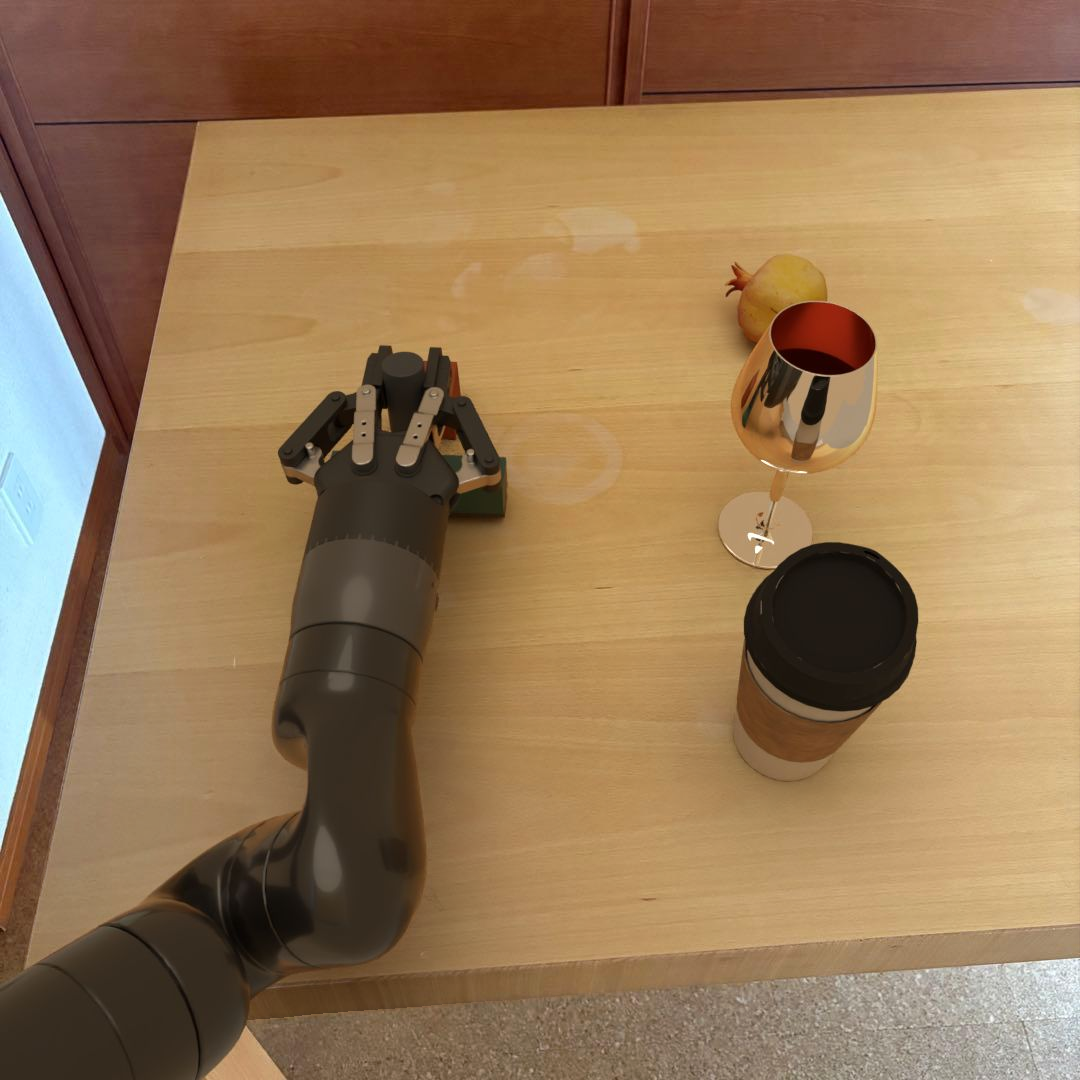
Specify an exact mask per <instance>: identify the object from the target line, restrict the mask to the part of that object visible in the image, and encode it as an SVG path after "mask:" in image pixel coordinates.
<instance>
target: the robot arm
mask: <svg viewBox="0 0 1080 1080" xmlns="http://www.w3.org/2000/svg"><path fill="white" fill-rule="evenodd" d="M393 353H394V351H393V347H392V345H386V344H385V345H384V344H383V345H382V344H380V345H379V347H378V350H377V352H371V353H370V354H369V356H368V357H367V358H366V364H365V368H364V373H363V377H362V382H361V386H359V387H358V388H357V390H356V391H355V392H353V393H350V394H346V393H345V392H343V391H341V390H334V391H331V392H330V393H328V394H327V395H325V397H324V398H323V400H321V402H320V403H319V404H318V405H317V406H316V407H315V408H314V409H313V410H312V412H311V413H310V414H309V415H308V416H307V417H306V418H305V419H304V420H303V421H302V423H300V425H299V426H298V427H297V428H296V429H295V430H294V431H293V433H292V434H291V435H290V436H289V437H288V438H287V439H286V440H285V441H284V442H283V444H282V445H280V447H279V448H278V450H277V455H278V458H279V463H280V465H281V468H282V471H283V474H284V475H285V478H286V480H287V482H288V483H289V484H291V485H296V486H298V485H300V484H303V483H306V484H308V485H311V486H312V487H314V488H315V490H316V496H317V499H316V501H315V505H314V510H313V515H312V519H311V523H310V527H309V532H308V535H307V539H306V543H305V548H304V551H303V556H302V561H301V564H300V569H299V573H298V578H297V582H296V586H295V591H294V594H293V599H292V605H291V606H292V607H291V612H290V628H289V629H290V630H289V636H288V637H289V638H288V642H287V648H286V652H285V655H284V659H283V665H282V669H281V673H280V678H279V682H278V687H277V690H276V694H275V698H274V702H273V708H272V715H271V727H270V729H271V740H272V742H273V745H274V747H275V749H276V751H277V752H278V754H279V755H280V756H281V757H282V758H283V759H284V760H285V761H286V762H288V763H289V764H291V765H292V766H294V767H296V768H298V769H300V770H302V771H305V772H307V783H306V792H305V797H304V801H303V804H302V807H301V809H298V810H294V811H293V812H292V811H291V812H288V813H285V814H281V815H277V816H273V817H270V818H267V819H263V820H260V821H258V822H255V823H253V824H250V825H248V826H246V827H244V828H242V829H240V830H238V831H236V832H235V833H233V834H231V835H229V836H227V837H225V838H223V839H222V840H220V841H219V842H217V843H215V844H214V845H212V846H211V847H209V848H208V849H206V850H205V851H203V852H202V853H199V855H197V856H196V857H195V858H193V859H192V860H190V861H189V862H188V863H187V864H186V865H184V866H182V867H181V868H180V869H179V870H178V871H177V872H175V873H173V874H172V875H171V876H170V877H169V878H168V879H166V880H165V881H164V882H163V883H162V884H160V885H158V886H157V887H156V888H155V889H154V890H153V891H152V892H151V893H149V894H148V895H147V896H146V897H145V898H144V899H143V900H142V901H140V902H139V904H137V905H136V906H134V907H132V908H130V909H128V910H126V911H124V912H121V913H119V914H117V915H116V916H114V917H112V918H110V919H108V920H106V921H105V922H102V923H100V924H98V925H97V926H96V927H95V928H92V929H90V930H88V931H87V932H85V933H84V934H82V935H80V936H78V937H77V938H75V939H74V940H72V941H70V942H69V943H67V944H65V945H64V946H62V947H61V948H58V949H57V950H56V951H54V952H52V953H50V954H49V955H47V956H45V957H44V958H42V959H40V960H38V961H37V962H35V963H34V964H32V965H30V966H29V967H27V968H25V969H23V970H22V971H20V972H19V973H17V974H16V975H14V976H13V977H11V978H10V979H8V980H6V981H5V982H3V983H1V984H0V1080H203V1079H204V1078H205V1077H207V1076H208V1075H209V1074H210V1072H212V1071H213V1070H215V1068H216V1067H218V1065H219V1064H220V1063H222V1061H223V1060H225V1058H226V1057H227V1056H228V1055H229V1053H230V1052H231V1051H232V1050H233V1049H234V1048H235V1046H236V1045H237V1043H238V1042H239V1040H240V1039H241V1036H242V1034H243V1032H244V1030H245V1028H246V1025H247V1022H248V1018H249V1014H250V1007H251V1001H252V1000H253V999H254V998H256V997H257V996H258V995H259V994H261V993H263V991H265V990H266V989H268V988H270V987H271V986H273V985H275V984H276V983H278V982H279V981H282V980H283V979H285V978H287V977H289V976H292V975H297V974H303V973H310V972H319V971H326V970H332V969H339V968H340V969H341V968H348V967H355V966H360V965H365V964H368V963H371V962H373V961H375V960H377V959H380V958H382V957H384V956H385V955H386V954H388V953H390V951H391V950H392V949H394V948H395V947H396V946H397V945H398V944H399V943H400V941H402V939H403V938H404V936H405V935H406V933H407V932H408V930H409V928H410V926H411V924H412V923H413V921H414V918H416V917H415V916H416V915H417V912H418V909H419V906H420V904H421V901H422V898H423V894H424V890H425V886H426V885H425V884H426V880H427V873H428V872H427V870H428V849H427V838H426V829H425V822H424V814H423V807H422V798H421V790H420V779H419V772H418V764H417V758H416V753H415V747H414V740H413V739H414V738H413V726H414V723H415V717H416V711H417V705H418V699H419V693H420V692H419V691H420V684H421V677H422V671H423V664H424V658H425V654H426V651H427V648H428V646H429V645H428V644H429V641H430V638H431V636H432V635H431V634H432V631H433V625H434V621H435V620H434V619H435V614H436V612H437V611H438V605H439V600H440V597H439V586H440V578H441V571H442V563H443V557H444V549H445V543H446V535H447V528H448V523H449V516H450V515H449V514H450V512H451V510H452V509H453V508H454V507H455V506H456V504H457V503H458V501H459V499H460V494H461V493H464V492H467V491H471V490H474V489H477V488H480V487H482V489H483V490H484V491H485V492H487V493H495V492H497V491H499V490H500V489H501V486H502V483H501V470H500V458H499V457H500V456H499V453H498V451H497V450H496V448H495V446H494V444H493V441H492V439H491V438H490V435H489V433H488V432H487V429H486V427H485V425H484V423H483V422H482V419H481V418H480V415H479V413H478V411H477V409H476V407H475V405H474V403H473V401H472V399H471V398H470V397H468V396H465V395H461V396H459V397H457V398H452V397H450V390H451V383H452V369H451V362H452V361H451V358H450V356H449V355H443V348H442V347H438V346H430V347H429V350H428V355H427V360H426V361H427V366H426V372H425V379H424V383H423V391H424V395H423V398H422V401H421V404H420V406H419V409H418V412H414V414H413V417H412V420H411V422H410V425H409V428H408V431H402V432H395V433H392V432H391V431H388V430H383V415H382V413H383V410H388V409H387V402H386V395H385V388H384V381H383V374H382V367H381V365H382V362H383V360H384V359H385V358H386V357H387V356H389V355H391V354H393ZM352 426H353V435H352V436H353V438H352V439H351V440H350V441H349V442H348V443H347V444H345V445H344V446H343V447H342V448H341V449H339V450H338V451H339V452H337V453H336V454H335V455H334V456H333V457H331V456H330V457H331V458H330V457H329V459H328V460H327V461H325V458H326V457H327V456H328V455H329V454H330V452H332V451H333V449H334V448H335V447H336V445H337V444H338V443H339V442H340V441H341V440H342V439H343V437H344V436H346V434H347V433H348V432H349V431H350V429H351V428H352ZM445 426H446V427H449V428H452V429H455V431H456V434H457V435H456V437H457V438H458V440H459V441H460V442H459V443H460V444H461V446H462V449H463V451H464V452H465V453H464V454H463V455H461V456H462V458H461V463H462V467H461V469H460V470H459V471H458V472H456V473H455V472H454V470H453V469H452V468H451V466H450V465H449V464H448V462H447V461H446V460H445V458H444V457H443V456H442V455H443V454H442V453H441V451H440V449H441V441H442V439H441V438H442V435H443V432H444V429H445Z"/></svg>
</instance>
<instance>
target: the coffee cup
mask: <svg viewBox="0 0 1080 1080" xmlns="http://www.w3.org/2000/svg"><path fill="white" fill-rule="evenodd" d="M918 626H919V605H918V602H917V597H916V594H915V592H914V590H913V588H912V587H911V584H910V583H909V581H908V580H907V578H906V577H905V575H903V573H902V572H901V571H900V570H899V569H898V568H897V567H896V566H895V565H894V564H893V563H892V562H891V561H889V559H887V558H886V557H885V556H884V555H882V553H880V552H879V551H877V550H875V549H872V548H869V547H866V546H862V545H859V544H853V543H848V542H847V543H846V542H839V541H824V542H818V543H817V542H816V543H813V544H812V543H811V545H810V546H807V547H804V548H801V549H800V550H798V551H796V552H795V553H793V554H791V555H790V556H788V557H787V558H786V559H785V560H784V561H783V562H781V563H780V564H779V565H778V566H777V568H776V569H773V571H772V572H771V573H769V574H768V575H767V576H766V577H765V578H763V580H762V581H761V582H760V583H759V585H758V586H757V587H756V588H755V590H754V592H753V593H752V595H751V597H750V598H749V601H748V603H747V605H746V607H745V612H744V617H743V637H744V639H743V643H742V644H743V645H742V652H741V653H742V654H741V660H740V669H739V677H738V686H737V693H736V705H735V711H734V715H733V723H732V735H733V740H734V744H735V747H736V748H737V751H738V752H739V754H740V756H741V757H742V758H743V760H744V761H745V763H747V764H748V765H749V766H750V767H751V768H752V769H753V770H754V771H756V772H757V773H758V774H761V775H763V776H765V777H767V778H770V779H773V780H777V781H782V782H783V781H784V782H795V781H801V780H804V779H808V778H810V777H811V776H813V775H815V774H816V773H817V772H819V771H820V770H821V769H822V768H823V767H824V766H825V765H826V764H827V763H828V762H829V761H830V759H831V758H832V757H833V756H834V754H835V753H836V752H837V751H838V750H839V749H840V748H841V747H842V746H844V744H845V743H846V742H847V741H848V740H849V739H850V738H851V737H852V736H853V734H855V733H856V732H857V730H858V729H859V728H860V727H861V726H862V725H863V724H864V723H865V722H867V720H868V719H869V718H870V716H872V714H873V713H874V712H875V711H876V710H877V709H878V708H879V707H880V706H881V705H882V703H883V702H884V701H886V700H888V699H890V697H892V696H893V695H894V694H895V693H896V692H898V691H899V690H900V688H902V686H903V684H904V683H905V682H906V680H907V679H908V677H909V676H910V673H911V669H912V667H913V664H914V660H915V658H916V652H917V651H916V650H917V644H918V643H917V642H918V639H917V634H918Z"/></svg>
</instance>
